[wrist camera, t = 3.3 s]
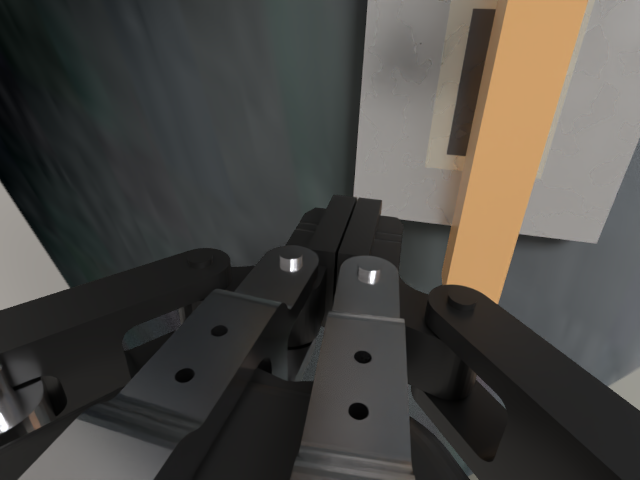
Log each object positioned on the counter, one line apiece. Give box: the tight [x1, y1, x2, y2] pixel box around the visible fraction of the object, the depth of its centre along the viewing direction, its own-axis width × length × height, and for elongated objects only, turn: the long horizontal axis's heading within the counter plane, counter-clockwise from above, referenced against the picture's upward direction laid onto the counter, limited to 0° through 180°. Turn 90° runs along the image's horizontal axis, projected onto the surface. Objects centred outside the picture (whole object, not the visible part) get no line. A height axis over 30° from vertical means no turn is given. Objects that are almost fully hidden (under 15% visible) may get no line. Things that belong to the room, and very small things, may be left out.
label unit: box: [353, 0, 640, 244], centre depth 25 cm, size 18×16×2 cm
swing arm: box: [442, 0, 588, 304], centre depth 19 cm, size 28×4×3 cm, turn 178°
